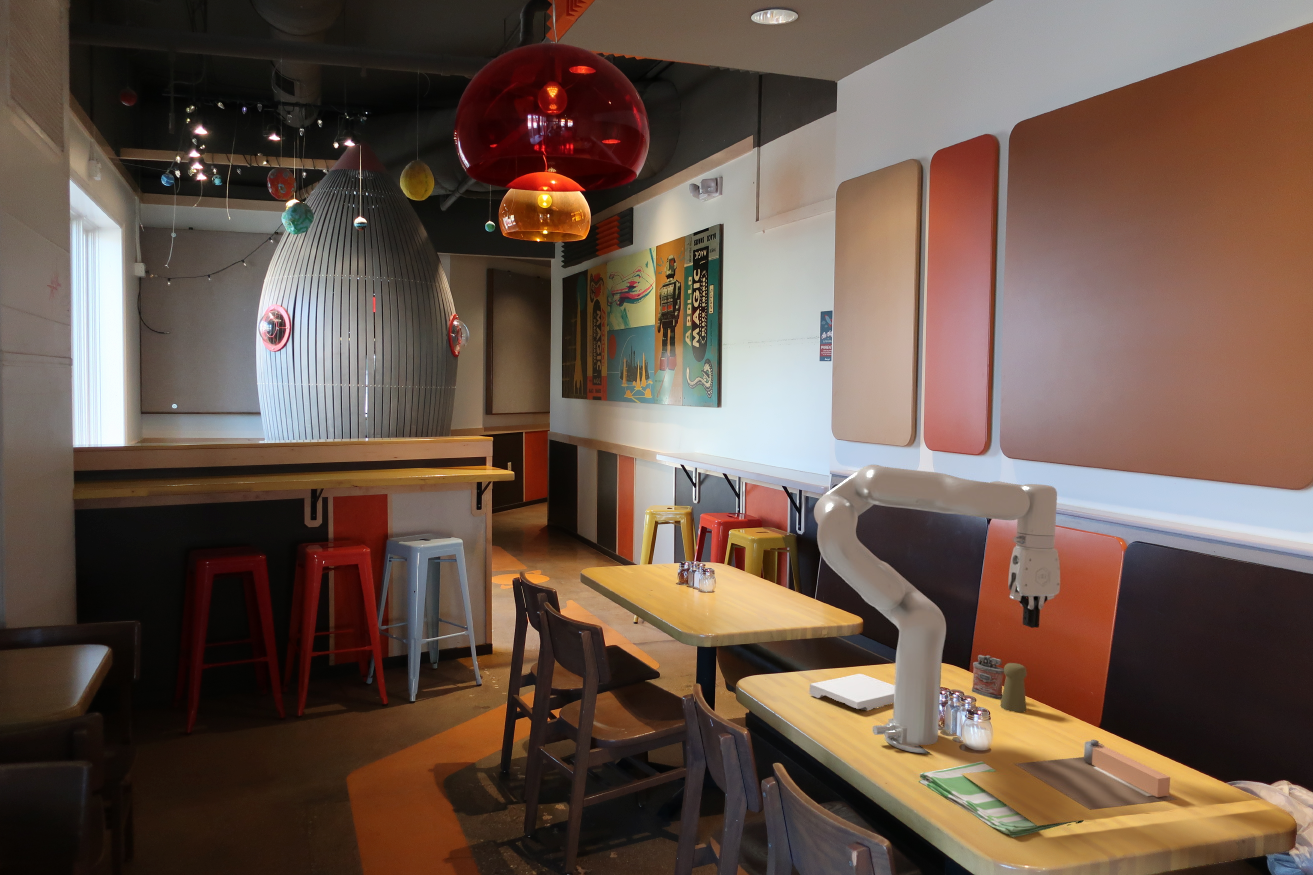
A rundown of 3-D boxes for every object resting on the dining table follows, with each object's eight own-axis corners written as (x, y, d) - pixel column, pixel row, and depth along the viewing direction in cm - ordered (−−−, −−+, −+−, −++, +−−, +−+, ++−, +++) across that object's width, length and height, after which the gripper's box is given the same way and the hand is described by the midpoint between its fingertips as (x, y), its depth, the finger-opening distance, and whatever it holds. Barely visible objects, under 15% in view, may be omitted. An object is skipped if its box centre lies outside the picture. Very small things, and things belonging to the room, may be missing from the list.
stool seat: (1089, 817, 152) (1090, 808, 152) (1013, 770, 171) (1014, 762, 171) (1176, 806, 158) (1177, 797, 158) (1093, 762, 177) (1094, 754, 177)
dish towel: (1010, 842, 143) (1011, 826, 143) (915, 784, 164) (915, 770, 164) (1083, 824, 150) (1084, 809, 150) (983, 771, 172) (984, 758, 172)
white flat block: (859, 685, 225) (808, 696, 212) (860, 673, 224) (809, 683, 212) (907, 703, 213) (856, 716, 200) (908, 690, 213) (857, 702, 200)
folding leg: (1079, 758, 174) (1081, 738, 174) (1093, 757, 175) (1094, 736, 175) (1156, 797, 157) (1157, 774, 157) (1170, 795, 158) (1171, 772, 158)
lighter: (969, 691, 221) (971, 653, 220) (975, 688, 223) (977, 651, 223) (998, 700, 215) (1000, 661, 214) (1005, 697, 217) (1007, 659, 216)
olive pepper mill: (1029, 713, 206) (1031, 668, 205) (1002, 710, 207) (1005, 666, 206) (1023, 705, 212) (1025, 661, 211) (998, 702, 213) (1000, 659, 212)
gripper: (1018, 544, 175) (1013, 631, 176) (1076, 544, 180) (1072, 629, 180) (994, 539, 183) (989, 622, 183) (1051, 538, 187) (1046, 620, 187)
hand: (1030, 625), depth 182 cm, fingers closed
